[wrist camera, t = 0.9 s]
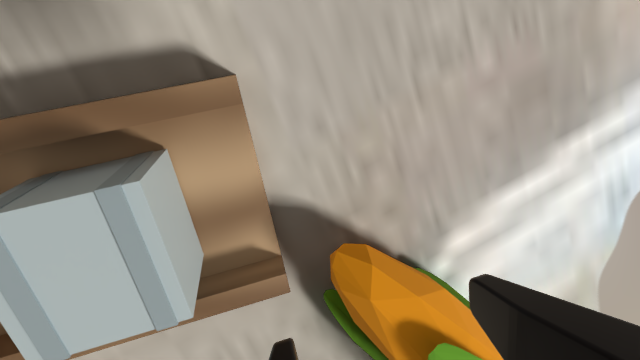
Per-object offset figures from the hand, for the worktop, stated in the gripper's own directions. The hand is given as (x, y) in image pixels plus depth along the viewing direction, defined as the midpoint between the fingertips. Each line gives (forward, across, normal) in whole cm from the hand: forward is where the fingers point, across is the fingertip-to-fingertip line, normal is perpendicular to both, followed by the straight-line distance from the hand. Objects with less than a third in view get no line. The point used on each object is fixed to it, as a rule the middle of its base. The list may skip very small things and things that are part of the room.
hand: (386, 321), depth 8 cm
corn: (+12, -6, +12) cm, 18 cm away
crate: (+11, +9, 0) cm, 14 cm away
